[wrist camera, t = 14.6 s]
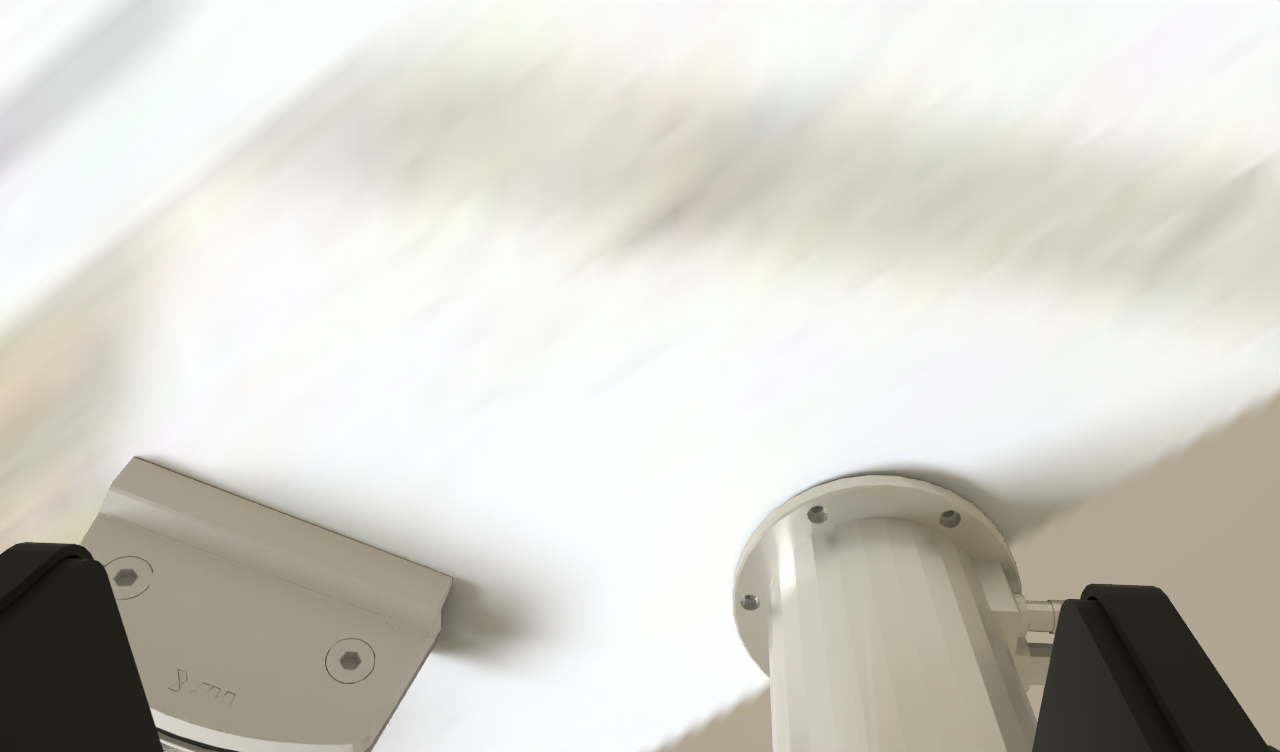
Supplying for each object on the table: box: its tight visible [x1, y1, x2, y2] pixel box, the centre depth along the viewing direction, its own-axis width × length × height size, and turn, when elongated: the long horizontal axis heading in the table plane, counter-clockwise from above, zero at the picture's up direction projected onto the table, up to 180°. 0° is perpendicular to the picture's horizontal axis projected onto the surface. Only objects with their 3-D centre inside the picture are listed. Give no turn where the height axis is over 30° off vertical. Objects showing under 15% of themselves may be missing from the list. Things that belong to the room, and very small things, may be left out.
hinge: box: [80, 457, 453, 752], centre depth 42 cm, size 17×5×10 cm, turn 69°
